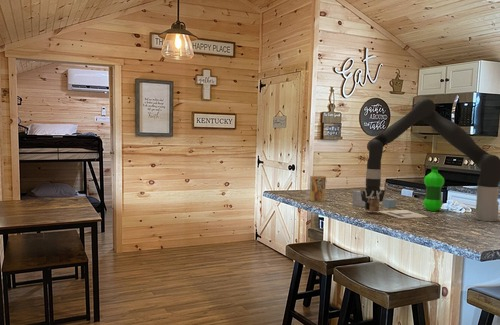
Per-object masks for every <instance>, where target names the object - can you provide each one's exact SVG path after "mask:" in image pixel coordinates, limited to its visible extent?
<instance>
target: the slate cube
mask: <svg viewBox="0 0 500 325" xmlns="http://www.w3.org/2000/svg"><path fill="white" fill-rule="evenodd" d="M382 207H383V208H387V209H393V208H394V209H395V208H396V207H397V200H396V199H395V198H383V201H382Z"/></svg>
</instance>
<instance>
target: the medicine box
mask: <svg viewBox="0 0 500 325" xmlns="http://www.w3.org/2000/svg"><path fill="white" fill-rule="evenodd" d="M360 191H361V190H354V191H352V206H354V207H361V208H365V202H364V201H362V198H361V192H360ZM366 194H367V193H366ZM368 197H369V196H368Z"/></svg>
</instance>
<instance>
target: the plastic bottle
mask: <svg viewBox="0 0 500 325" xmlns="http://www.w3.org/2000/svg"><path fill="white" fill-rule="evenodd" d="M430 170H431V171H430V173H428V174H427V175H425V176H424V178H423V184H424V185H425V197H424V199H423V203H422V204H423V206H424V207H425V209H427V211H430V212H438V211H439V210H440V209H442V206H443V202H442V187H443V186H444V185H445V177H444V176H443V175H442V174H440V173H439V170H440V166H439V165H430Z"/></svg>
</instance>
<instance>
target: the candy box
mask: <svg viewBox="0 0 500 325" xmlns="http://www.w3.org/2000/svg"><path fill="white" fill-rule="evenodd" d="M326 177H327V176H325V175H310V177H309V180H310V181H309V201H311V202H319V201H320V202H323V201H325V200H326V180H327V179H326Z"/></svg>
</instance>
